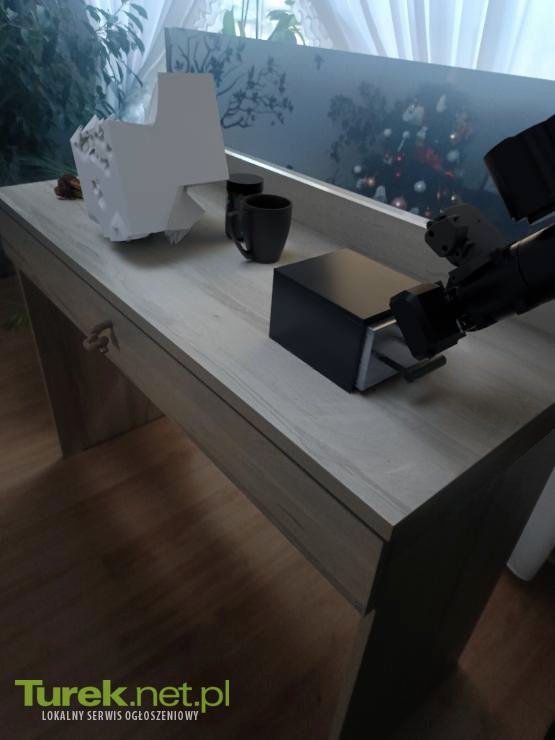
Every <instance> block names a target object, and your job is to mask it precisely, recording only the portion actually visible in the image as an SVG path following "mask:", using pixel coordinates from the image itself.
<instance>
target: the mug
mask: <svg viewBox="0 0 555 740" xmlns="http://www.w3.org/2000/svg"><path fill="white" fill-rule="evenodd" d="M293 204H294V203H293V202H292V200H291V199H289V198H287V197H284V196H282V195H276V194H271V193H270V194H269V193H263V194H254V195H248V196H246V197H244V198H243V199H242V208H241V210H240V211H232V212H229V213H227V214H226V217H225V216H224V225H225V224H226V227H227V230H228V232H229V234H230V236H231V238H232V239H233V240H232V239H231V240H232V241H233V243H234V245H235V247H236V248H237V250H238V251H239V253H240V254H241V255H242V257H243V258H244V259H246V260H250V261H252V262H255V263H258V264H273V263H277V262H278V261H280V259H281V258H282V257H281V256H282V254H283V250H284V249H285V246H286V244H287V240H288V237H289V234H290V229H291V224H292V218H293V217H292V215H293V206H294V205H293ZM240 214H241V222H242V231H243V237H244V242H243V243H244V246H245V248H244V247H243V246H242V244H241V242H239V241H238V239H237V237H236V235H235V233H234V230H233V227H232V219H233V217H234V216H235V215H240Z"/></svg>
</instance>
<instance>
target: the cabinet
mask: <svg viewBox="0 0 555 740" xmlns="http://www.w3.org/2000/svg"><path fill="white" fill-rule="evenodd" d="M272 274H273V275H272V284H271V285H272V288H271V302H270V312H269V313H270V315H269V328H268V329H269V330H268V337H269V338H270V339H271V340H272V341H274V342H275V343H277V344H278V345H280V346H281V347H283V349H285V350H286V351H288V352H290V353H291V354H292V355H294V356H295V357H297V358H298V359H299V360H301V361H302V362H303V363H305V364H307V365H308V366H310V367H311V368H312V369H314V371H316V372H318V373H319V374H321V375H322V376H323V377H325V378H327V379H328V380H329V381H331V382H332V383H334V385H337V386H338V387H340V388H341V389H342V390H344V391H345V392H346V393H348V394H352V393H354V392H356V391H357V390H360V389H359V388H357V387H356V386H355V381H356V376H357V371H358V366H359V361H360V356H361V351H362V346H363V341H364V336H365V331H366V326H367V324H369V323H371V322H374V321H376V320H379V319H381V318H384V317H386V316H389V315H391V314H393V313H392V311H391V309H390V306H389V302H390V298H391V297H393V296H394V295H396V294H398V293H400V292H402V291H404V290H406V289H408V288H411V287H414V286H416V285H419V284H422V283H423V282H420V281H418V280H415V279H413V278H411V277H410V276H407V275H405V274H403V273H400V272H398V271H397V270H394V269H392V268H390V267H388V266H386V265H383V264H381V263H379V262H377V261H375V260H373V259H371V258H369V257H367V256H364V255H363V254H360V253H358V252H356V251H353V250H352V249H349V248H343V249H339V250H335V251H332V252H327V253H324V254H321V255H317V256H313V257H309V258H306V259H302V260H299V261H296V262H295V261H294V262H291V263H288V264H284V265H281V266H277V267H273V271H272Z"/></svg>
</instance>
